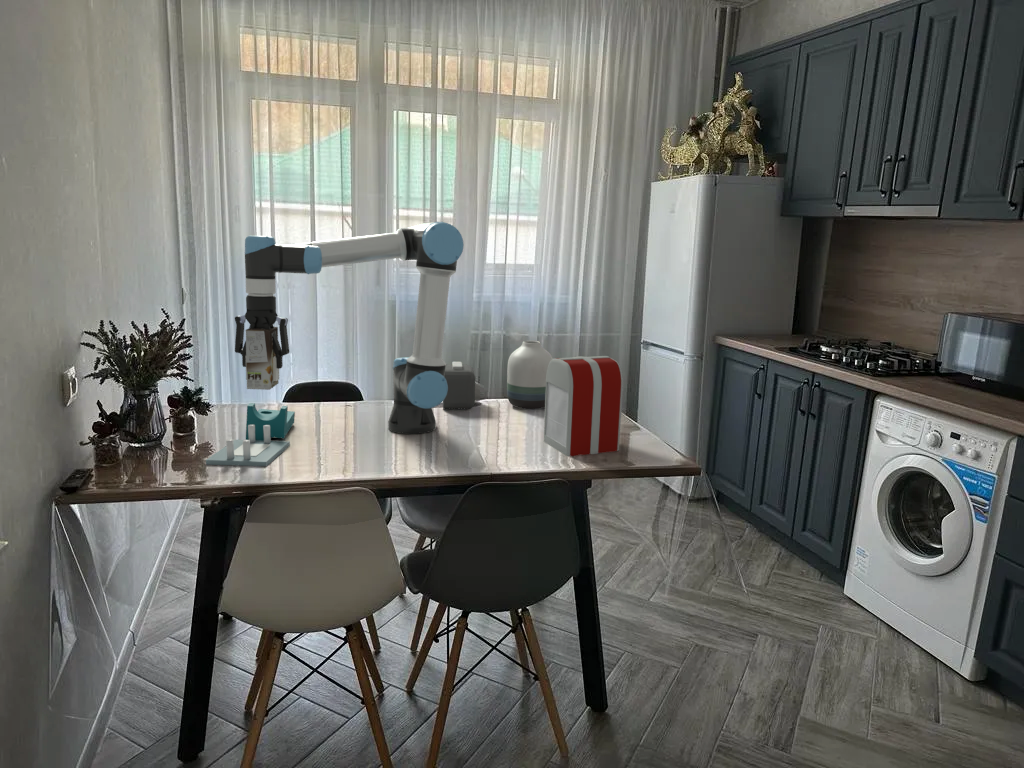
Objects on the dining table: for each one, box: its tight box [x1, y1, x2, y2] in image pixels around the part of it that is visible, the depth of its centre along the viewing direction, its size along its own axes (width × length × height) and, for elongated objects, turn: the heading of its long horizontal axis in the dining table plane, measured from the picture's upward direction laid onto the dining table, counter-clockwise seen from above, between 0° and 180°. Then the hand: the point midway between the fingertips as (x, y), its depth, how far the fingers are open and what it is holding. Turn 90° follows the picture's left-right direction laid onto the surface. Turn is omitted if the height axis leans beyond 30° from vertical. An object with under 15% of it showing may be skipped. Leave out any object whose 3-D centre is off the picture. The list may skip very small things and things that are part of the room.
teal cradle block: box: [245, 402, 296, 441], centre depth 214 cm, size 18×11×10 cm, turn 8°
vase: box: [506, 340, 554, 410], centre depth 255 cm, size 17×17×24 cm
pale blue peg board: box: [205, 425, 291, 467], centre depth 193 cm, size 16×19×6 cm
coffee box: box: [244, 326, 279, 391], centre depth 190 cm, size 9×6×16 cm
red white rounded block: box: [543, 355, 624, 457], centre depth 207 cm, size 16×18×27 cm
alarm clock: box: [442, 361, 476, 410], centre depth 254 cm, size 16×11×16 cm
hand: (262, 379), depth 191 cm, fingers closed on coffee box, 7 cm apart
